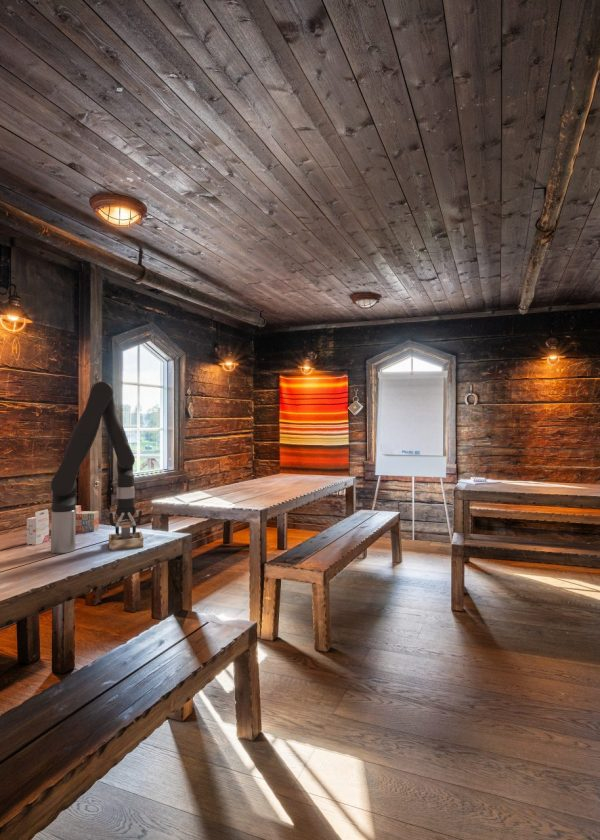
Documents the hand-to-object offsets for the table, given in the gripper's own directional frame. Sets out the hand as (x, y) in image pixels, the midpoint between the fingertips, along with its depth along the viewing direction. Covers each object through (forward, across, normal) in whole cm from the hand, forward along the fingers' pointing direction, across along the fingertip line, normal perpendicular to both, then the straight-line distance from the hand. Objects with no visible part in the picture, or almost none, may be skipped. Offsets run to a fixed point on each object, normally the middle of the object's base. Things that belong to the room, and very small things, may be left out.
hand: (125, 534), depth 216 cm
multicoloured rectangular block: (+5, -22, +41) cm, 47 cm away
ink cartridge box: (+5, -37, +20) cm, 42 cm away
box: (+5, 0, 0) cm, 5 cm away
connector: (+4, 0, 0) cm, 4 cm away
